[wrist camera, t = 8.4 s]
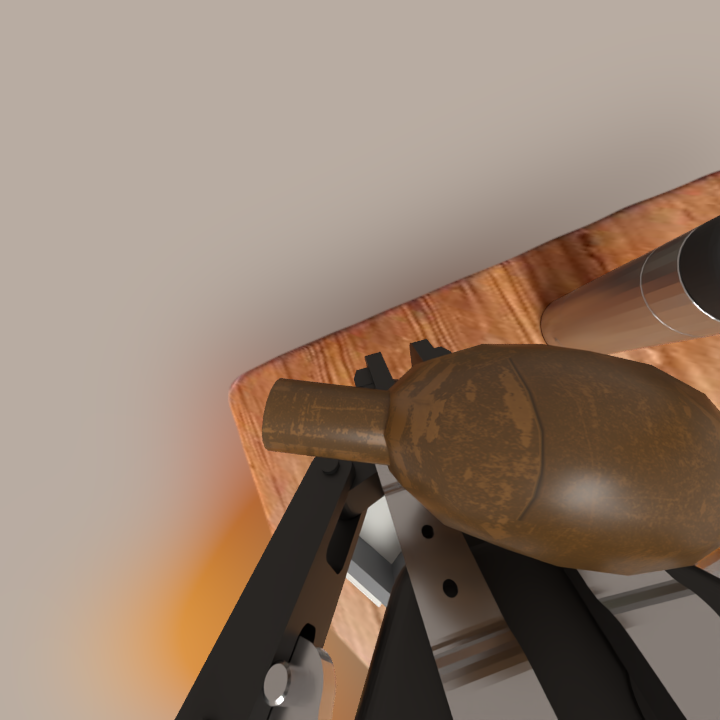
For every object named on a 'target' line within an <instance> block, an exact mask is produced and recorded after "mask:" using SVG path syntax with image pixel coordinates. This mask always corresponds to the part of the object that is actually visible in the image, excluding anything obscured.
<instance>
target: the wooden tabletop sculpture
mask: <svg viewBox="0 0 720 720" xmlns="http://www.w3.org/2000/svg"><path fill="white" fill-rule="evenodd" d="M393 381H394V383H395V384H394V385H393V386H392V387H390V388H389V389H388V390H378V389H370V388H361V387H352V386H344V385H335V384H326V383H318V382H309V381H300V380H291V379H283V378H280V379H279V380H277V381H276V382H275V384H274V385H273V387H272V389H271V391H270V394H269V396H268V399H267V402H266V406H265V411H264V415H263V425H262V438H263V444H264V447H265V449H267V450H268V451H275V452H283V453H291V454H299V455H307V456H315V457H323V458H331V459H339V460H347V461H355V462H363V463H371V464H380V465H387V466H388V469H389V471H390V472H391V474H392V475H393V476H394V477H395V478H396V480H397V481H398V482H399V483H400V484H401V486H402V487H403V488H405V489H406V490H407V491H408V492H409V493H410V494H411V495H412V496H413V497H414V498H415V499H417V500H418V501H419V502H420V503H421V504H422V505H423V506H424V507H425V508H426V509H427V510H429V511H430V512H431V513H432V514H433V515H434V516H435V517H436V518H437V519H438V520H439V521H440V522H442V523H443V524H444V525H446V526H449V527H451V528H454V529H456V530H459V531H461V532H464V533H466V534H469V535H471V536H474V537H477V538H479V539H482V540H484V541H487V542H489V543H492V544H494V545H497V546H499V547H502V548H505V549H507V550H510V551H513V552H516V553H519V554H522V555H525V556H528V557H531V558H534V559H537V560H540V561H543V562H546V563H549V564H552V565H555V566H559V567H566V568H573V569H581V570H588V571H596V572H603V573H611V574H618V575H625V576H631V575H637V574H643V573H650V572H656V571H662V570H668V569H674V568H681V567H687V566H693V565H694V564H696V563H697V562H698V561H700V560H701V559H703V558H704V557H706V556H707V555H709V554H710V553H711V552H713V551H714V550H716V549H717V548H719V547H720V411H719V410H718V409H717V408H716V406H715V405H714V404H713V403H712V402H711V400H710V399H709V398H708V397H707V396H706V395H705V394H704V393H702V392H700V391H698V390H696V389H695V388H693V387H691V386H689V385H687V384H685V383H684V382H682V381H680V380H678V379H676V378H674V377H672V376H671V375H669V374H667V373H665V372H663V371H661V370H660V369H658V368H656V367H654V366H652V365H649V364H645V363H640V362H636V361H632V360H627V359H623V358H619V357H614V356H610V355H606V354H601V353H597V352H592V351H587V350H580V349H573V348H566V347H559V346H552V345H545V344H481V345H478V346H474V347H471V348H467V349H464V350H461V351H457V352H454V353H451V354H447V355H444V356H440V357H437V358H434V359H430V360H427V361H424V362H422V363H419V364H416V365H414V366H413V367H412V368H411V369H410V370H409V371H407V372H406V373H405V374H404V375H403V376H402V377H401V378H400V379H399V380H398V379H393Z"/></svg>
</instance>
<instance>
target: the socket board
mask: <svg viewBox="0 0 720 720" xmlns="http://www.w3.org/2000/svg"><path fill="white" fill-rule="evenodd" d="M405 564H406V563H405V560H404V557H403V554H402V550H401V547H400V544H399V540H398V537H397V534H396V531H395V527H394V524H393V521H392V518H391V514H390V511H389V508H388V505H387V501H386V498H385V496H383V497H382V498H381V499H379V500H378V501H377V502H375V503H374V504H373V505H371V506H370V507H369V508H368V510H367V513H366V516H365V519H364V522H363V525H362V529H361V532H360V535H359V538H358V541H357V544H356V547H355V550H354V553H353V556H352V559H351V562H350V565H349V569H348V572H347V575H346V578H347V579H348V580H349V581H350V582H351V583H352V584H354V585H355V586H356V587H357V588H358V589H359V590H360V591H361V592H362V593H364V594H365V595H366V596H367V597H368V598H369V599H370V600H371V601H372V602H374V603H375V604H376V605H377V606H378V607H380V605H381V604H383V605H384V606H386V607H387V604H388V600H389V597H390V593H391V590H392V587H393V585H394V582H395V580H396V578H397V576H398V574H399V572H400V571H401V569H402V567H403V566H404V565H405Z"/></svg>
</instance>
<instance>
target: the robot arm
mask: <svg viewBox="0 0 720 720" xmlns="http://www.w3.org/2000/svg"><path fill="white" fill-rule="evenodd" d="M541 330H542V334H543V337H544V339H545V341H546V342H547V344H548V345H552V346H559V347H566V348H573V349H580V350H587V351H592V352H597V353H601V354H606V355H608V354H614V353H619V352H625V351H630V350H636V349H641V348H647V347H652V346H658V345H663V344H669V343H674V342H680V341H685V340H691V339H696V338H702V337H708V336H713V335H718V334H720V216H718V217H716V218H714V219H712V220H710V221H708V222H706V223H704V224H702V225H700V226H698V227H697V228H695V229H693V230H691V231H689V232H687V233H685V234H683V235H681V236H679V237H677V238H675V239H673V240H671V241H669V242H667V243H665V244H663V245H662V246H660V247H658V248H656V249H654V250H652V251H650V252H648V253H646V254H644V255H642V256H640V257H639V258H637V259H634V260H632V261H630V262H628V263H626V264H624V265H622V266H620V267H618V268H616V269H614V270H612V271H611V272H609V273H607V274H605V275H603V276H601V277H599V278H597V279H595V280H593V281H591V282H589V283H587V284H585V285H583V286H581V287H580V288H578V289H576V290H574V291H572V292H570V293H568V294H566V295H565V296H563V297H561V298H559V299H557V300H555V301H553V302H552V303H551V304H550V305H548V307H547V308H546V309H545V311H544V313H543V316H542V320H541ZM447 354H451V351H449V350H447V349H445V348H443V347H437V348H433V346H432V345H431V344H430V343H429V341H428V340H427V339H424V340H421V341H417V342H414V343H410V355H411V363H412V367H413V366H414V365H416V364H419V363H422V362H424V361H427V360H430V359H434V358H437V357H440V356H444V355H447ZM365 361H366V365H367V368H363V369H360V370H356V374H355V377H354V381H355V385H356V387H361V388H370V389H378V390H388V389H389V388H390V387H392V386H393V385H394V384H395V383H394V381H393V379H392V376H391V374H390V372H389V370H388V368H387V365H386V363H385V361H384V359H383V357H382V354H381V352H378V353H375V354H371V355H368V356H365ZM383 496H385V498H386V501H387V505H388V508H389V511H390V514H391V518H392V521H393V524H394V527H395V531H396V534H397V537H398V540H399V544H400V547H401V550H402V554H403V557H404V560H405V563H406V564H405V565H404V566H403V567H402V569H401V571H400V572H399V574H398V576H397V578H396V580H395V582H394V585H393V587H392V590H391V593H390V597H389V600H388V604H387V607H386V611H385V614H384V618H383V621H382V625H381V628H380V632H379V635H378V639H377V642H376V646H375V649H374V653H373V656H372V660H371V663H370V667H369V670H368V674H367V678H366V681H365V685H364V688H363V691H362V695H361V698H360V702H359V705H358V709H357V713H356V716H355V720H720V547H719V548H717V549H716V550H714V551H713V552H711V553H710V554H709V555H707V556H706V557H704V558H703V559H701V560H700V561H698V562H697V563H696V564H694V565H693V566H687V567H681V568H674V569H668V570H662V571H656V572H650V573H643V574H637V575H631V576H625V575H618V574H611V573H603V572H596V571H588V570H581V569H573V568H566V567H559V566H555V565H552V564H549V563H546V562H543V561H540V560H537V559H534V558H531V557H528V556H525V555H522V554H519V553H516V552H513V551H510V550H507V549H505V548H502V547H499V546H497V545H494V544H492V543H489V542H487V541H484V540H482V539H479V538H477V537H474V536H471V535H469V534H466V533H464V532H461V531H459V530H456V529H454V528H451V527H449V526H446V525H444V524H443V523H442V522H440V521H439V520H438V519H437V518H436V517H435V516H434V515H433V514H432V513H431V512H430V511H429V510H427V509H426V508H425V507H424V506H423V505H422V504H421V503H420V502H419V501H418V500H417V499H415V498H414V497H413V496H412V495H411V494H410V493H409V492H408V491H407V490H406V489H405V488H403V487H402V486H401V484H400V483H399V482H398V481H397V480H396V478H395V477H394V476H393V475H392V474H391V472H390V471H389V469H388V466H387V465H380V464H371V463H363V462H355V461H347V460H339V459H331V458H323V457H315V458H314V459H313V461H312V463H311V465H310V467H309V469H308V470H307V472H306V474H305V476H304V478H303V480H302V482H301V484H300V485H299V487H298V489H297V491H296V493H295V495H294V497H293V499H292V500H291V502H290V504H289V506H288V508H287V510H286V512H285V514H284V515H283V517H282V519H281V521H280V523H279V525H278V527H277V529H276V530H275V532H274V534H273V536H272V538H271V540H270V542H269V544H268V545H267V547H266V549H265V551H264V553H263V555H262V557H261V559H260V561H259V563H258V564H257V566H256V568H255V570H254V572H253V574H252V576H251V577H250V579H249V581H248V583H247V585H246V587H245V589H244V591H243V593H242V594H241V596H240V598H239V600H238V602H237V604H236V606H235V608H234V609H233V611H232V613H231V615H230V617H229V619H228V621H227V623H226V625H225V626H224V628H223V630H222V632H221V634H220V636H219V638H218V639H217V641H216V643H215V645H214V647H213V649H212V651H211V653H210V654H209V656H208V658H207V660H206V662H205V664H204V666H203V668H202V669H201V671H200V673H199V675H198V677H197V679H196V681H195V683H194V685H193V687H192V688H191V690H190V692H189V694H188V696H187V698H186V699H185V702H184V703H183V705H182V707H181V709H180V711H179V713H178V715H177V716H176V718H175V720H332V714H333V706H334V700H335V695H336V675H335V669H334V665H333V662H332V660H331V658H330V656H329V655H328V653H327V652H326V651H325V650H324V649H323V646H324V642H325V639H326V636H327V633H328V630H329V627H330V624H331V621H332V618H333V615H334V612H335V609H336V606H337V602H338V599H339V596H340V593H341V590H342V587H343V584H344V581H345V578H346V575H347V572H348V569H349V565H350V562H351V559H352V556H353V553H354V550H355V547H356V544H357V541H358V538H359V535H360V532H361V529H362V525H363V522H364V519H365V516H366V513H367V510H368V508H369V507H370V506H371V505H373V504H374V503H375V502H377V501H378V500H379V499H381V498H382V497H383Z"/></svg>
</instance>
